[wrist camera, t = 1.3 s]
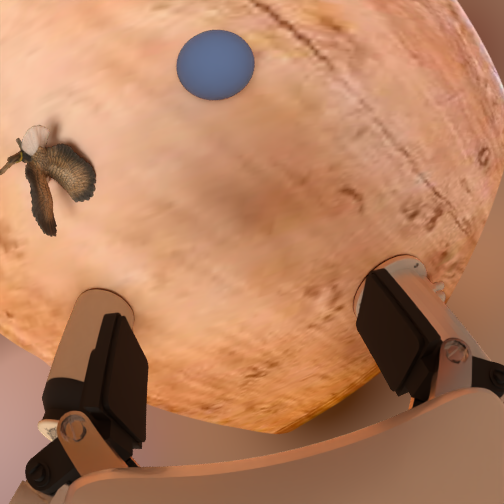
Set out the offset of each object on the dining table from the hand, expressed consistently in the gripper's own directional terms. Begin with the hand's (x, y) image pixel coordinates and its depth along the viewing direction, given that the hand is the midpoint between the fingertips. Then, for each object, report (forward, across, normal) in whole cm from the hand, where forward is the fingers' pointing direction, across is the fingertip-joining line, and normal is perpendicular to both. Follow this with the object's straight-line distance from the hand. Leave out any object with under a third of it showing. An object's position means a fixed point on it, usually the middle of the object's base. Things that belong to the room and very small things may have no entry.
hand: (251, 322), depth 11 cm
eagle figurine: (+20, +16, -4) cm, 25 cm away
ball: (+16, -1, -10) cm, 19 cm away
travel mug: (+19, +16, +15) cm, 29 cm away
